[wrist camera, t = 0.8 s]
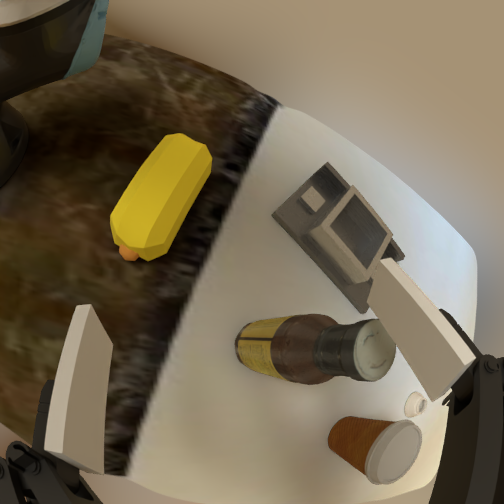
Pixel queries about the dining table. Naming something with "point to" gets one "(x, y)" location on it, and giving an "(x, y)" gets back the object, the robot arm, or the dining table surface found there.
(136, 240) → the hot dog
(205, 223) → the dining table surface
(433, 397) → the robot arm
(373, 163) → the dining table surface
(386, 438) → the disposable coffee cup
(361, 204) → the bottle holder
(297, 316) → the sauce bottle
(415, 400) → the lidless jar
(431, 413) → the dining table surface
